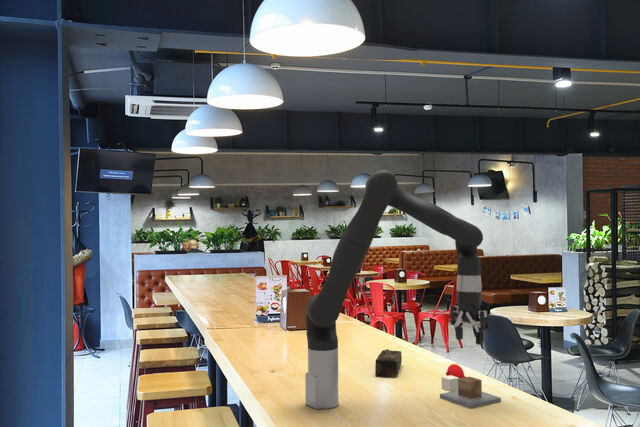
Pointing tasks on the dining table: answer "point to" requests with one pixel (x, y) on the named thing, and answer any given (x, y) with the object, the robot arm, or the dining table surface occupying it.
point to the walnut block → (469, 387)
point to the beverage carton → (388, 363)
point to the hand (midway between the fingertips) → (469, 341)
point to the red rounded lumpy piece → (455, 371)
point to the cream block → (450, 383)
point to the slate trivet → (472, 402)
